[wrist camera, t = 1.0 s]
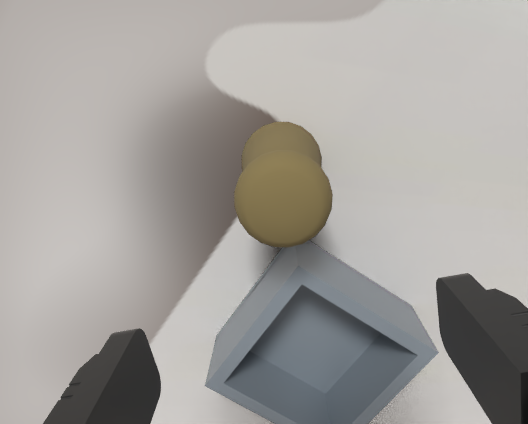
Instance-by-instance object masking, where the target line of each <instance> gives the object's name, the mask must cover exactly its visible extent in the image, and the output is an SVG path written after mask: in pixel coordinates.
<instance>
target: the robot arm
mask: <svg viewBox="0 0 528 424" xmlns="http://www.w3.org/2000/svg"><path fill="white" fill-rule="evenodd" d="M436 291H437V303H438V315H439V327H440V334H441V338H442V341H443V344H444V347H445V349H446V351H447V353H448V355H449V357H450V358H451V360H452V361H453V363H454V365H455V366H456V368H457V369H458V371H459V372H460V374H461V376H462V377H463V379H464V380H465V382H466V383H467V385H468V387H469V388H470V390H471V391H472V393H473V394H474V396H475V398H476V399H477V401H478V402H479V404H480V405H481V407H482V409H483V410H484V412H485V413H486V415H487V416H488V418H489V420H490V421H491V423H492V424H528V308H527V307H525V306H524V305H523V304H522V303H521V302H520V301H519V300H518V299H517V298H515V297H513V296H510V295H508V294H506V293H504V292H502V291H499V290H497V289H491V290H485V289H484V288H483V287H482V286H481V285H480V284H479V283H478V282H477V281H476V280H475V279H474V278H473V277H472V276H471V275H470V274H468V273H466V274H460V275H454V276H448V277H443V278H438V279H437V282H436ZM69 385H70V386H69V387H67V388H66V390H65V391H64V393H63V394H62V396H61V400H59V401H58V402H57V404H56V405H55V406H54V408H53V409H52V411H51V413H50V414H49V415H48V417H47V419H46V420H45V421H44V423H43V424H150V423H151V420H152V417H153V414H154V411H155V408H156V406H157V403H158V400H159V397H160V391H161V381H160V375H159V371H158V369H157V366H156V363H155V360H154V357H153V354H152V352H151V349H150V346H149V343H148V340H147V338H146V335H145V333H144V331H143V330H142V329H134V330H128V331H123V332H116V333H113V334H112V335H111V336H110V337H109V339H108V340H107V342H106V343H105V345H104V347H103V348H102V350H101V351H100V353H99V354H96V355H94V356H93V357H92V358H91V359H90V360H89V361H88V362H87V363H85V364H84V365H83V366H82V367H81V368H80V369H79V370H78V372H77V373H76V375H75V376H74V378H73V379H72V381H71V382H70V384H69Z"/></svg>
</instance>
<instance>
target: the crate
mask: <svg viewBox="0 0 528 424" xmlns="http://www.w3.org/2000/svg"><path fill="white" fill-rule="evenodd" d="M438 353H439V352H438V351H437V349H436V347H435V345H434V344H433V342H432V340H431V338H430V337H429V335H428V333H427V331H426V330H425V328H424V326H423V325H422V323H421V321H420V319H419V318H418V316H417V314H416V312H415V311H414V309H413V307H412V306H411V305H410V304H408V303H407V302H405V301H404V300H402V299H400V298H399V297H397V296H396V295H394V294H393V293H391V292H389V291H388V290H386V289H385V288H383V287H381V286H380V285H378V284H377V283H375V282H374V281H372V280H370V279H369V278H367V277H366V276H364V275H363V274H361V273H359V272H358V271H356V270H355V269H353V268H352V267H350V266H348V265H347V264H345V263H344V262H342V261H341V260H339V259H337V258H336V257H334V256H333V255H331V254H330V253H328V252H326V251H325V250H323V249H322V248H320V247H319V246H317V245H315V244H314V243H312V242H311V241H309V240H308V241H307V242H305V243H303V244H300V245H296V246H293V247H282V249H281V250H280V251H279V253H278V254H277V255H276V257H275V258H274V259H273V261H272V262H271V263H270V265H269V266H268V267H267V269H266V270H265V271H264V273H263V274H262V275H261V277H260V278H259V279H258V281H257V282H256V283H255V285H254V286H253V288H252V289H251V290H250V292H249V293H248V294H247V296H246V297H245V298H244V300H243V301H242V302H241V304H240V305H239V306H238V308H237V309H236V310H235V312H234V313H233V314H232V316H231V317H230V318H229V320H228V321H227V322H226V324H225V325H224V326H223V328H222V329H221V330H220V332H219V333H218V334H217V336H216V340H215V345H214V349H213V353H212V358H211V362H210V366H209V371H208V375H207V379H206V384H205V386H206V387H208V388H210V389H212V390H213V391H215V392H217V393H219V394H221V395H223V396H225V397H226V398H228V399H230V400H232V401H234V402H236V403H238V404H239V405H241V406H243V407H245V408H247V409H249V410H251V411H252V412H254V413H256V414H258V415H260V416H262V417H264V418H265V419H267V420H269V421H271V422H273V423H275V424H368V423H369V422H370V421H371V420H372V419H373V418H374V417H375V416H376V415H377V414H378V413H379V412H380V411H381V410H382V409H383V408H384V407H385V406H386V405H387V404H388V403H389V402H390V401H391V400H392V399H393V398H394V397H395V396H396V395H397V394H398V393H399V392H400V391H401V390H402V389H403V388H404V387H405V386H406V385H407V384H408V383H409V382H410V381H411V380H412V379H413V378H414V377H415V376H416V375H417V374H418V373H419V372H420V371H421V370H422V369H423V368H424V367H425V366H426V365H427V364H428V363H429V362H430V361H431V360H432V359H433V358H434V357H435V356H436V355H437V354H438Z"/></svg>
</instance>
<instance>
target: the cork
mask: <svg viewBox="0 0 528 424" xmlns="http://www.w3.org/2000/svg"><path fill="white" fill-rule="evenodd" d="M332 196H333V194H332V190H331V186H330V183H329V179H328V178H327V176H326V175H325V173H324V172H323V170H322V169H321V153H320V150H319V146H318V144H317V142H316V141H315V139H314V138H313V136H312V135H311V134H310V133H309V132H308V131H306V130H305V129H304V128H303V127H301V126H298V125H296V124H293V123H290V122H274V123H271V124H268V125H264V126H262V127H261V128H260V129H258V130H257V131H256V132H254V133H253V134H252V135H251V137H250V138H249V139H248V141H247V142H246V144H245V147H244V150H243V153H242V173H241V175H240V177H239V180H238V183H237V186H236V189H235V192H234V205H235V210H236V213H237V215H238V218H239V221H240V223H241V224H242V226H243V227H244V228H245V230H246V231H247V232H248V234H249V235H251V236H252V237H254V238H255V239H256V240H258V241H259V242H261V243H264V244H267V245H270V246H273V247H293V246H296V245H300V244H303V243H305V242H307V241H308V240H310V239H312V238H313V237H315V236H316V235H317V234H318V232H319V231H320V230H321V229H322V228H323V227H324V226H325V224H326V221H327V219H328V216H329V214H330V212H331V209H332Z"/></svg>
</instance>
